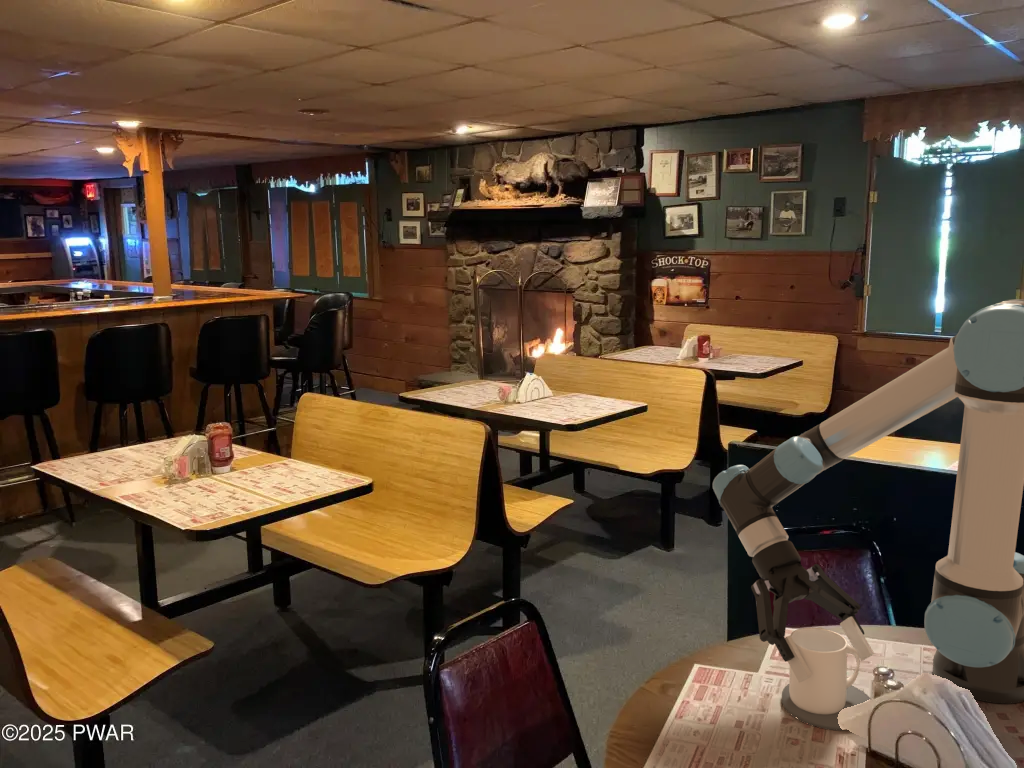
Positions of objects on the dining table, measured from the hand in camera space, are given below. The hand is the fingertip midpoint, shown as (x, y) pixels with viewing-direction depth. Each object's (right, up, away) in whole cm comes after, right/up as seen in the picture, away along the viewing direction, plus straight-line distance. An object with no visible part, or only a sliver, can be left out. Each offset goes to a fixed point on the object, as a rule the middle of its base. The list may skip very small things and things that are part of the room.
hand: (837, 668), depth 129 cm
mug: (-1, -6, +3) cm, 7 cm away
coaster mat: (-1, -7, +3) cm, 8 cm away
